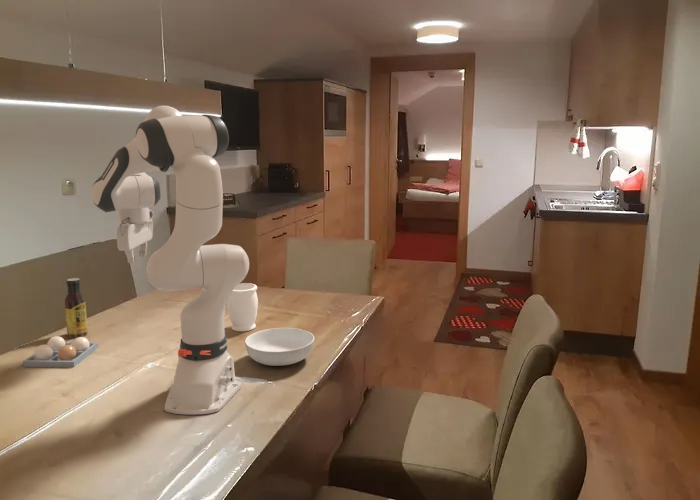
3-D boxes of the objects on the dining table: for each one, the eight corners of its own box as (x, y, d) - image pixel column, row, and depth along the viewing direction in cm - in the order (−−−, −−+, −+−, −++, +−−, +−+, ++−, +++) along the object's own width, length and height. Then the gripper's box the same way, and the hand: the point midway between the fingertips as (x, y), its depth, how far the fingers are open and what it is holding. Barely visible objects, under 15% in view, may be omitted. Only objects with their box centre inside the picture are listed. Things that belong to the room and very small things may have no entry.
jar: (242, 335, 193) (240, 292, 190) (222, 328, 199) (220, 287, 196) (265, 326, 201) (263, 285, 198) (244, 320, 207) (243, 281, 204)
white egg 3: (84, 358, 175) (86, 345, 173) (68, 354, 174) (69, 341, 172) (91, 349, 180) (93, 336, 178) (74, 345, 179) (76, 332, 177)
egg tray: (74, 368, 166) (73, 361, 166) (23, 368, 167) (22, 361, 166) (98, 349, 181) (98, 342, 180) (51, 348, 181) (51, 342, 181)
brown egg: (71, 364, 167) (70, 347, 167) (55, 364, 168) (53, 347, 167) (80, 358, 172) (78, 342, 172) (64, 358, 173) (62, 342, 172)
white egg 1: (48, 364, 168) (46, 348, 167) (31, 364, 168) (29, 348, 167) (57, 357, 173) (55, 342, 172) (41, 357, 173) (39, 342, 172)
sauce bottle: (80, 340, 188) (74, 282, 184) (63, 339, 189) (57, 281, 185) (92, 333, 194) (87, 277, 190) (76, 332, 196) (70, 276, 192)
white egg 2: (60, 355, 175) (59, 339, 174) (44, 354, 175) (43, 339, 174) (69, 348, 180) (67, 333, 178) (53, 348, 180) (51, 333, 179)
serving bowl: (323, 350, 179) (323, 329, 178) (300, 378, 160) (300, 355, 158) (263, 344, 185) (262, 324, 184) (233, 370, 165) (232, 347, 164)
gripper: (130, 220, 166) (134, 266, 169) (155, 211, 186) (158, 252, 189) (109, 220, 166) (113, 266, 169) (136, 211, 187) (139, 252, 189)
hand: (137, 259), depth 179 cm, fingers open, 8 cm apart
